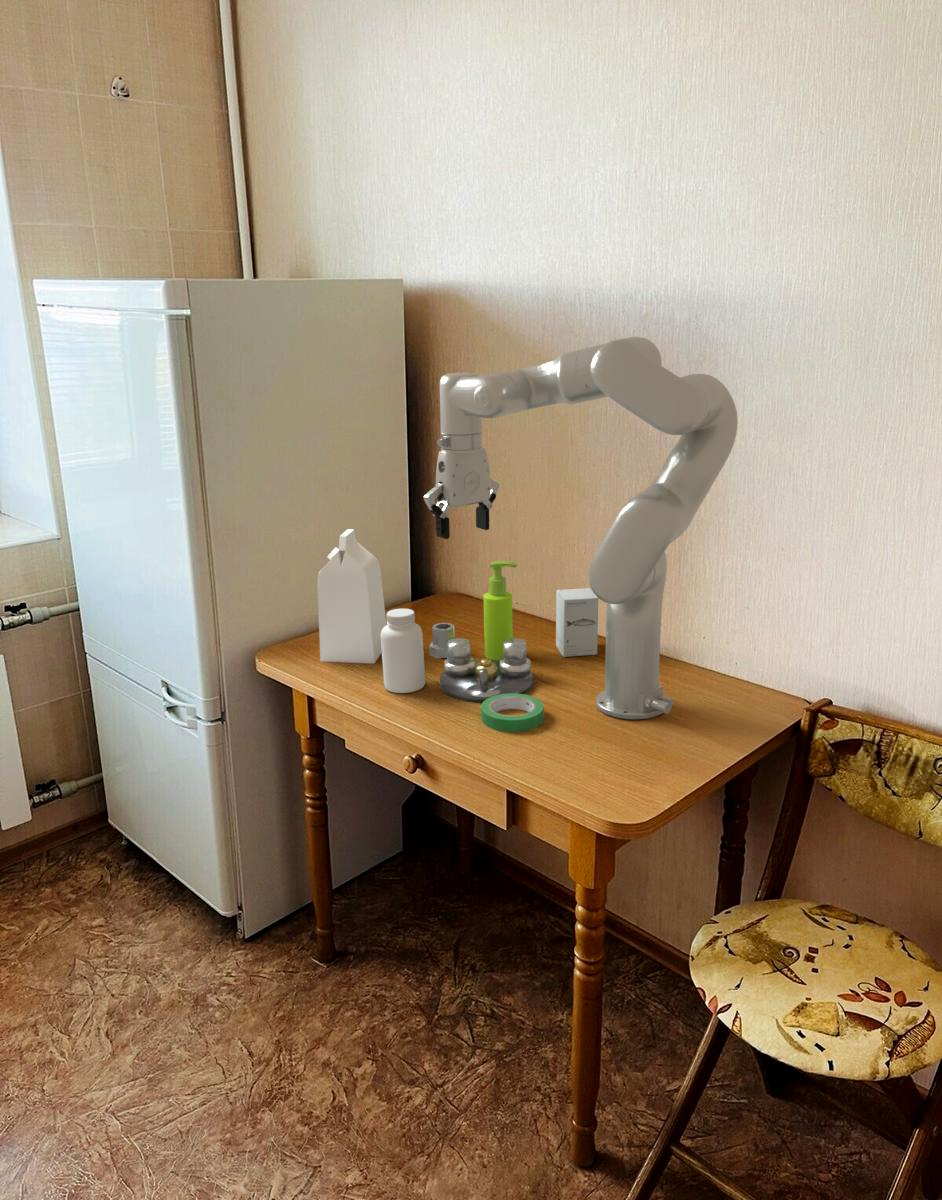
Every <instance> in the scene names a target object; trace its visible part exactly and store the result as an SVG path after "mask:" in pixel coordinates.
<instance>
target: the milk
mask: <svg viewBox="0 0 942 1200" xmlns="http://www.w3.org/2000/svg"><path fill="white" fill-rule="evenodd" d="M326 558H327V559H329V560H328V561H327V563H326V564H325V565H323V566H322V568H321V569H320V570H319V571H318V573H317V574H318V575H317V578H316V579H317V580H316V581H317V582H316V583H317V607H318V609H317V611H318V628H319V629H318V632H319V636H318V637H319V659H320V660H319V661H320V662H323V663H324V662H325V663H327V662H328V663H330V662H331V663H354V664H355V663H356V664H375V663H376V662H377V660H378V659H379V658H380V656H381V655H382V648H381V631H382V629H383V628H384V627H385V626H386V625H387V616H386V609H385V602H384V601H385V599H384V590H383V582H382V572H381V571H382V570H381V565H380V562H379V560H378V559H377V557H376V556H375V555H374V554H373V553H371V552H370V551H369V550H368V549H366V548H365V547H364V546H363V545H362V544H361V543H359V542H358V541H357V539H356V531H355V529H353V528H351V529H350V528H348V529H346V530H345V531H344V532H343V533H342V534H340V535H339V543H338V546H337V547H336V546H335V547H334V549H332V551H331V552H330V553H329V554H328V555H327V556H326Z"/></svg>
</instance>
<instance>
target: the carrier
mask: <svg viewBox="0 0 942 1200" xmlns="http://www.w3.org/2000/svg"><path fill="white" fill-rule="evenodd" d="M531 664H532V663H531V659H529V658H528V657H527V641H526V640H525V639H522V638H513V639H508V640H505V641H504V658H503V659H501V660H492V659H488V658H486V657H485V658H482V659H480V660H479V659H478V660H475V659H474V658H473V657H472V655H471V641H470V639H467V638H463V637H462V638H461V637H460V638H459V637H458V638H456V637H455V639H451V640H449V641H448V658H447V659H445V660H444V661H443V665H444V666H443V668H444V670H443V672H442V673H441V674H440V677H439V687H441V688H440V689H441V690H442V692H443V693H444V694H446V695H447V696H449V697H452V698H453V699H456V700H457V699H458V700H460V701H466V702H472V703H473V702H475V703H483V702H484V701H485V700H486V699H488V698H490V697H492V696H495V695H500V694H509V693H516V694H525V695H526V693H528V692H529V691H530V690H531V689H532V688H533V686H534V675H533V673H532V671H531V669H532V667H531V666H532V665H531Z"/></svg>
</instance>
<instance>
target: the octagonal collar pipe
mask: <svg viewBox="0 0 942 1200" xmlns="http://www.w3.org/2000/svg"><path fill="white" fill-rule="evenodd" d="M431 629H432V642H430V644H429V656H430V655H431V656H430V657H432V656H433V658H435V659H441V658H448V641H449V640H451V639H456V636H455V633H456V632H455V624H454V623H453V624H452V623H450V622H439V623H435V624H433V625H432V628H431Z"/></svg>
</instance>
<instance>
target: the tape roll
mask: <svg viewBox="0 0 942 1200" xmlns="http://www.w3.org/2000/svg"><path fill="white" fill-rule="evenodd" d="M505 710H520V711H525V712H527V713H524V714H519V715H506V714H501V713H499V712H501V711H505ZM544 710H545V707H544V703H543V702H542V701H541V700H540V699H538V698H537V697H534V696H532V695H529V694H526V693H525V694H516V693H509V694H500V695H495V696H492V697H490V698H488V699H486V700H485V701H484V702H481V705H480V712H481V713H480V717H481V718H480V719H481V722H482V723H483V725H484V726H486V727H487V728H490V729H492V730H495V731H497V732H498V731H500V732H504V733H505V732H507V733H515V732H516V733H519V732H524V731H529V730H533V729H535V728H537V727H539V726H540V725H541V724H542V723H543V722H544V720H545V719H544V718H545V717H544V715H545V714H544V713H545V712H544Z"/></svg>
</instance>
